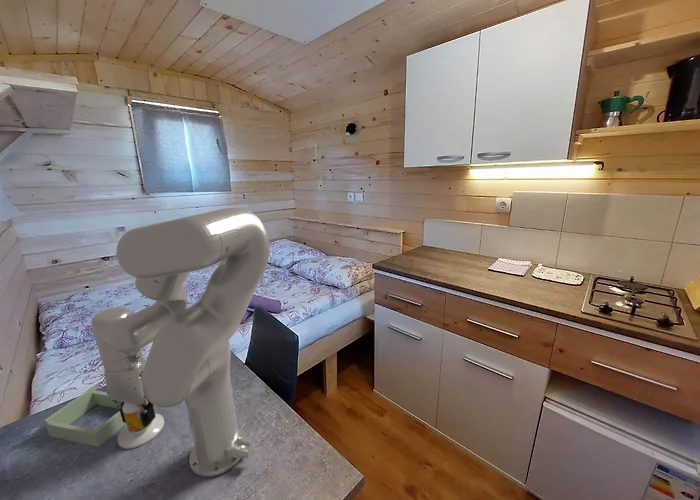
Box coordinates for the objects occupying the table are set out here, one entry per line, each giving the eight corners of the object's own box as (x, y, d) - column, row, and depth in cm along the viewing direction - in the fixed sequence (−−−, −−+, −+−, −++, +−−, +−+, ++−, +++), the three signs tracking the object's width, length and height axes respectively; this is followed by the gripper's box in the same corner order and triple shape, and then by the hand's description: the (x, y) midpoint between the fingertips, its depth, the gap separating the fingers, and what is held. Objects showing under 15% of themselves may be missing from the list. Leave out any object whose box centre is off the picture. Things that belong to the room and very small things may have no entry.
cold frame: (141, 409, 85) (137, 395, 83) (99, 447, 74) (93, 431, 72) (96, 401, 88) (92, 387, 87) (49, 436, 77) (43, 420, 76)
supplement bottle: (123, 429, 76) (114, 397, 74) (146, 414, 81) (138, 384, 78) (135, 437, 74) (126, 405, 71) (157, 421, 78) (150, 390, 76)
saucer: (173, 418, 81) (172, 416, 81) (141, 452, 72) (140, 449, 72) (142, 413, 84) (142, 410, 83) (107, 444, 74) (107, 442, 74)
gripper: (165, 353, 73) (179, 413, 78) (109, 346, 77) (125, 404, 82) (138, 373, 66) (155, 438, 71) (78, 364, 70) (98, 426, 75)
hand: (139, 419), depth 77 cm, fingers closed on supplement bottle, 5 cm apart
